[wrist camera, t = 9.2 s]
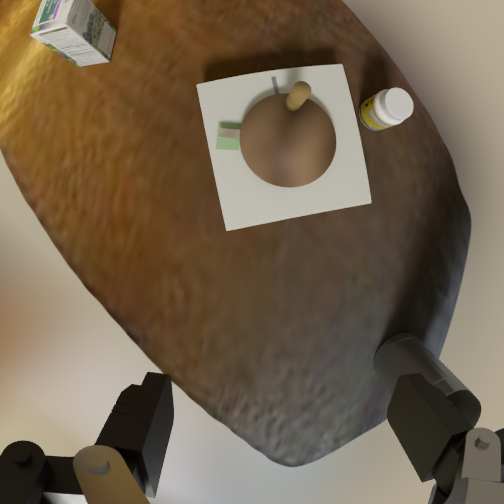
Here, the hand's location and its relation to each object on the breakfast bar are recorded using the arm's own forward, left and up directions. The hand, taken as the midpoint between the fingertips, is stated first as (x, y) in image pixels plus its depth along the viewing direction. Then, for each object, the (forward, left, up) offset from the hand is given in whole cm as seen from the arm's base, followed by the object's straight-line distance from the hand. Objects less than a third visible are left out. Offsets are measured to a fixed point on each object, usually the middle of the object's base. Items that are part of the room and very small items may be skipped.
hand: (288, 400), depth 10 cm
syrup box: (+33, +17, -33) cm, 50 cm away
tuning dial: (+11, -5, -28) cm, 30 cm away
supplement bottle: (+14, -20, -33) cm, 41 cm away
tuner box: (+11, -6, -33) cm, 35 cm away
